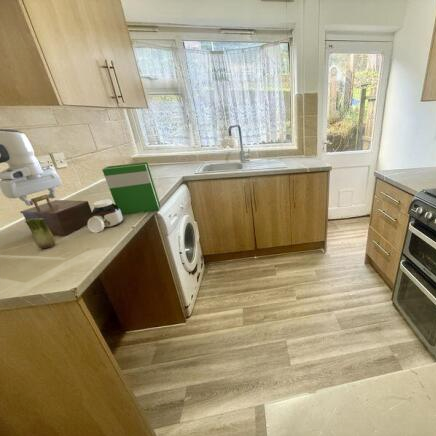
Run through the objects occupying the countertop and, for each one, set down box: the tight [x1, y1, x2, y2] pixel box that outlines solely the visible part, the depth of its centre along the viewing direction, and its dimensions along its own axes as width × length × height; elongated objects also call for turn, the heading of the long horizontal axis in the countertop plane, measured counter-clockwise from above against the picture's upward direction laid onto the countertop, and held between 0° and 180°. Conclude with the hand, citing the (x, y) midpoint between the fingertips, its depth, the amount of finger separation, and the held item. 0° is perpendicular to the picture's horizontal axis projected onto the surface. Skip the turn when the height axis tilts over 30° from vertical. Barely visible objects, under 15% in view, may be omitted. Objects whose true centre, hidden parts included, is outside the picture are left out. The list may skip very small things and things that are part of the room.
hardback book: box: [101, 161, 161, 216], centre depth 122 cm, size 18×7×24 cm, turn 111°
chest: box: [22, 202, 93, 237], centre depth 109 cm, size 17×15×10 cm
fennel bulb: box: [24, 218, 56, 249], centre depth 93 cm, size 6×5×12 cm
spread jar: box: [86, 198, 124, 234], centre depth 108 cm, size 12×11×12 cm
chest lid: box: [19, 194, 89, 215], centre depth 106 cm, size 17×15×5 cm
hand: (41, 201), depth 107 cm, fingers open, 8 cm apart
